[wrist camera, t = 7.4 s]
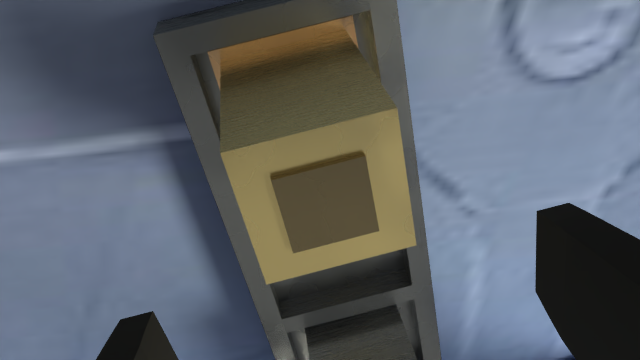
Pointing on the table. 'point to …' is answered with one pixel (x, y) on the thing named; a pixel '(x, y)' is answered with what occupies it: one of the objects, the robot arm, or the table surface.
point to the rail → (204, 126)
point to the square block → (361, 337)
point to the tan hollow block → (314, 156)
